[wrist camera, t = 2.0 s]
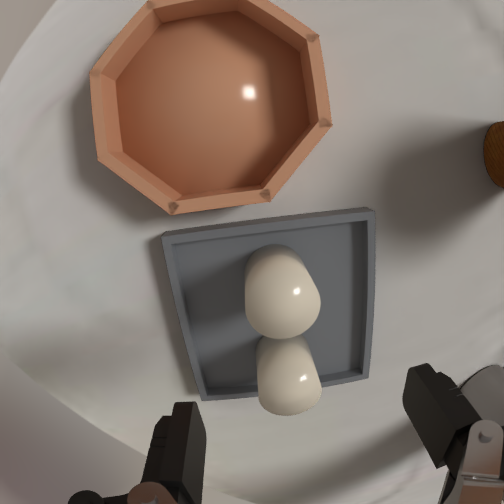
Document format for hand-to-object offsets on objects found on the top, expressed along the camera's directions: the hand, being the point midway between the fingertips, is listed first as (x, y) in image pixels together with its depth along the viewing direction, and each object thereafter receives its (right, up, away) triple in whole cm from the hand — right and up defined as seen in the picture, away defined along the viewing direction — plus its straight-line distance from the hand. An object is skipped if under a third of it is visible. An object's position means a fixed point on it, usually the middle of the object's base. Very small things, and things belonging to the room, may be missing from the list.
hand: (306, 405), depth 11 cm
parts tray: (0, +1, +15) cm, 15 cm away
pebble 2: (0, -3, +15) cm, 15 cm away
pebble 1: (0, +4, +13) cm, 14 cm away
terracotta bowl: (-5, +16, +10) cm, 19 cm away
